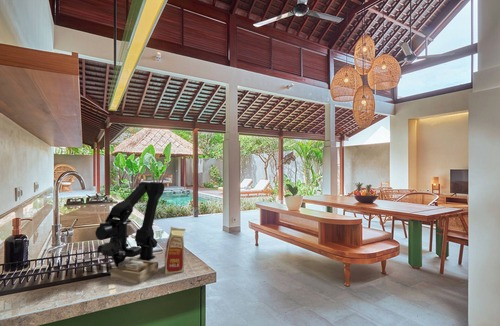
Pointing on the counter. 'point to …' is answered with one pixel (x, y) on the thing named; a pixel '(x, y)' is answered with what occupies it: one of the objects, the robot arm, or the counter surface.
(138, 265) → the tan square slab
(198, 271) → the counter surface
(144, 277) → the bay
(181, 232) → the milk carton
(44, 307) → the counter surface
